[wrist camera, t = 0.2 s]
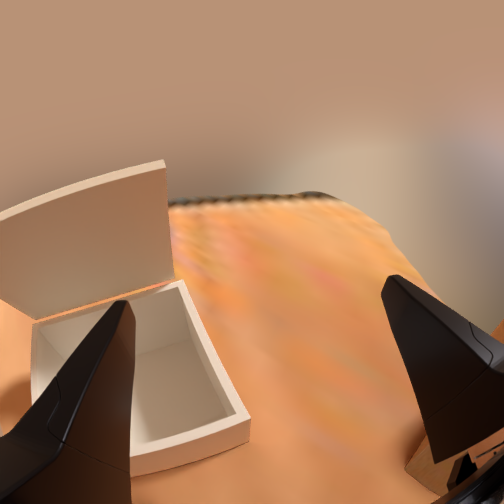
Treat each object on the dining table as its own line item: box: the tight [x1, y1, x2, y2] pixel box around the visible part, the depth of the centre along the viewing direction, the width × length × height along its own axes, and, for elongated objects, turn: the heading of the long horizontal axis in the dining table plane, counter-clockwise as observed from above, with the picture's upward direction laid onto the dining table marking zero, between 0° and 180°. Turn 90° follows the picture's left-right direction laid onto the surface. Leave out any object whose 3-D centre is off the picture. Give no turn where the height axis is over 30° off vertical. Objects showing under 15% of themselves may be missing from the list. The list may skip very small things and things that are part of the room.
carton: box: [31, 279, 251, 477], centre depth 17 cm, size 12×14×8 cm
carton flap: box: [0, 160, 175, 320], centre depth 13 cm, size 12×13×1 cm
